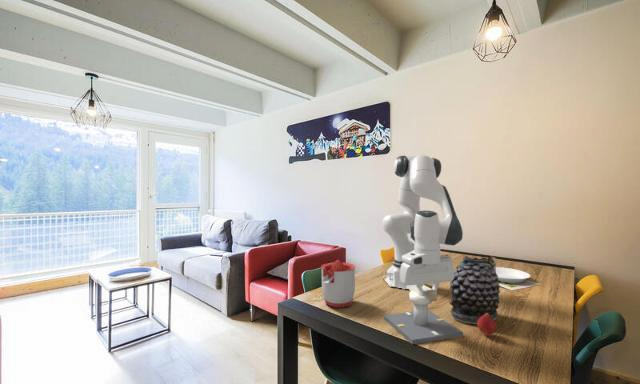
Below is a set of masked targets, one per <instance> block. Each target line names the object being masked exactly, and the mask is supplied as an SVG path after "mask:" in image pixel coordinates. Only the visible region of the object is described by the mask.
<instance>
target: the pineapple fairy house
mask: <svg viewBox="0 0 640 384" xmlns="http://www.w3.org/2000/svg"><path fill="white" fill-rule="evenodd" d="M462 258H463V259H462V261H460V262H459V263H458V265H456V269H454V279H453V281H449V284H450V285H449V287H448V289H450V291H451V296H452V297H451V299H449V300H448V304H449V305H450V306H452V308H451V309H450V313H451V316H452V317H453V319H455V320H457V321H459V322H461V323H466V324H474V325H477V322H478V319H479V318H480V317H481V316H483V315H484V314H486V313H488V315H489V316H490V317H491V318H492V319H493V320H494V321H496V319H497V317H498V311H497V310H498V308H499V304H500V301H499V300H500V299H501V298H500V293H501V290H500V288H501V285H500V282H499V279H498V275H497V274H496V267H497V263H498V261H499V260H498V259H497V258H496V257H494V256H492V255H491V256H489V257H488V258H487V257H484V256H481V258H477V257H474V255H473V256H472V258H471V257H468V256H467V255H464V256H463V257H462Z"/></svg>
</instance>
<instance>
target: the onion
mask: <svg viewBox="0 0 640 384" xmlns="http://www.w3.org/2000/svg"><path fill="white" fill-rule="evenodd" d="M495 321H496V320H493V319H492V318H491V317H490V316H489V315H488V313H486V314H484V315H483V316H481V317H480V318H479V319H478V322H477V324H476V326H477V328H478V330H479V331H480V332H481V333H482V334H483V335H484V336H485V337H490V336H492V335H493V334H495V333H496V331H497V328H498V327H497V326H498V325H497V323H496V322H495Z"/></svg>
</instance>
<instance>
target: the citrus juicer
mask: <svg viewBox="0 0 640 384" xmlns="http://www.w3.org/2000/svg"><path fill="white" fill-rule="evenodd" d="M320 268H321V291H322V295H323V300H324V302H325V304H326V305H327V304H328V305H330V306H329V307H331V306H333V307H332V308H337V307H342V308H346V307H345V306H347V307H349V306H350V304H352V302H353V301H354V295H355V290H356V276H355V275H356V274H355V271H356V266H355V264H352V263H348V262H342V261H341V260H340V259H337V260H335V261H334V262H327V263H324V264H321V266H320ZM328 305H327V306H328Z"/></svg>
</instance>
